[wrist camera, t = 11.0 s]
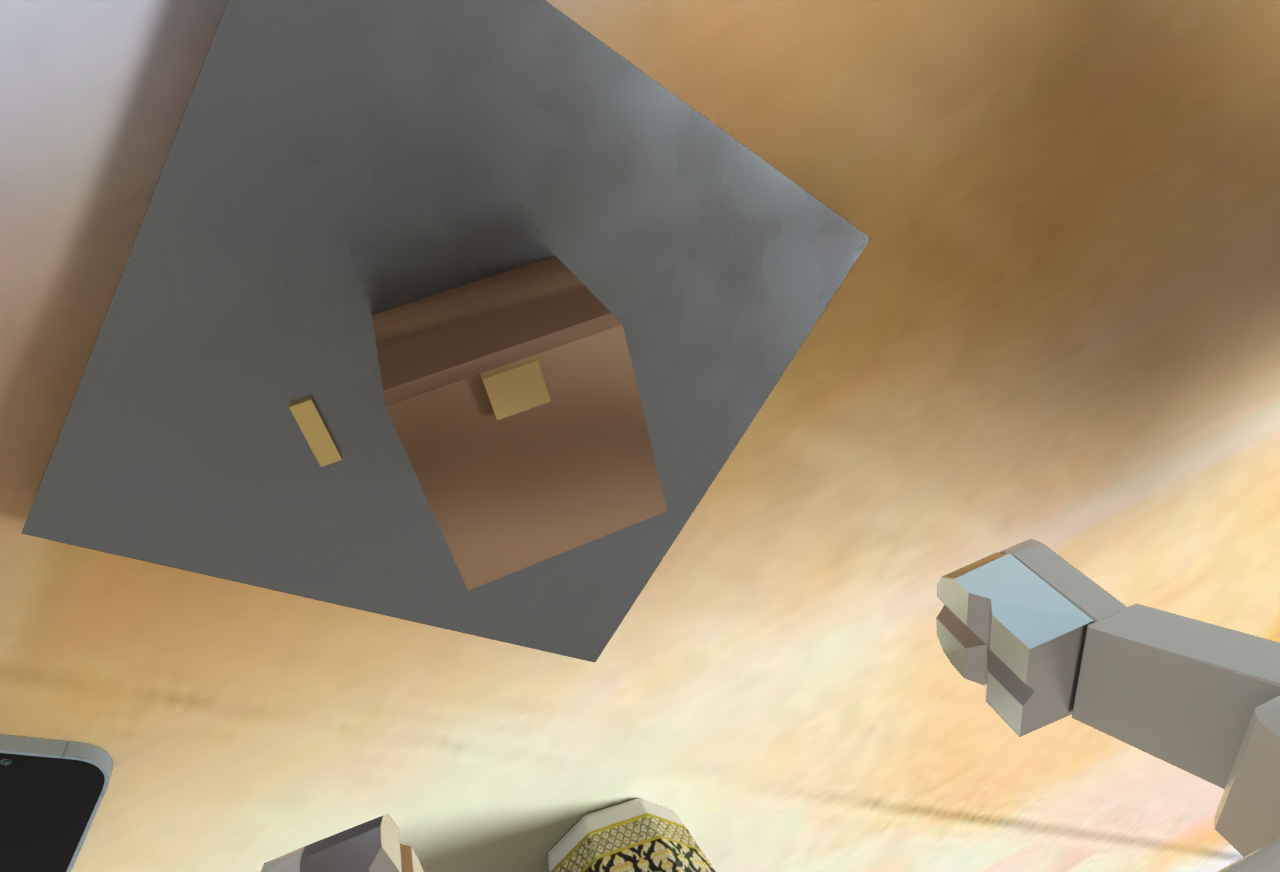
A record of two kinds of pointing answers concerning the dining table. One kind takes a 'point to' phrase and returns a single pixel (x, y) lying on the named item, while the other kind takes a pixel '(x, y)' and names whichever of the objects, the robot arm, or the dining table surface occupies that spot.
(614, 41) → the dining table surface
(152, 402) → the plate
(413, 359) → the taped cardboard carton
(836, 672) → the dining table surface
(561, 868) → the ceramic cup
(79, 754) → the smartphone
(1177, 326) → the dining table surface
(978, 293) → the dining table surface
